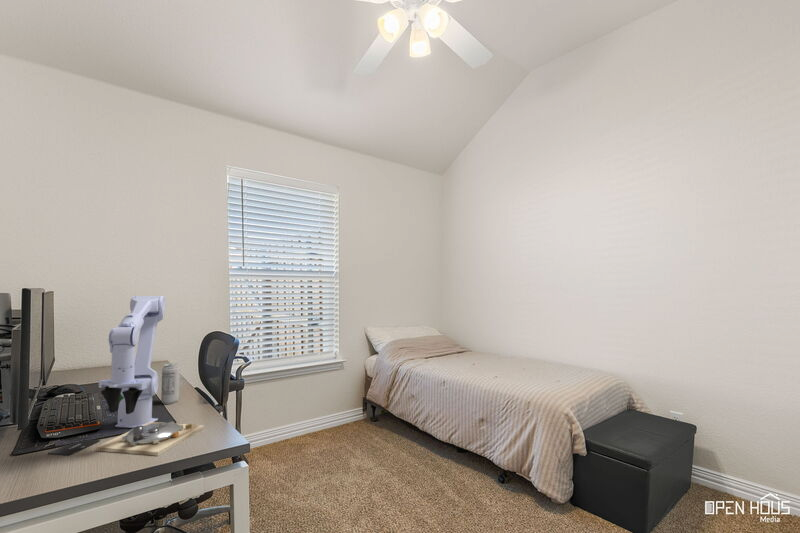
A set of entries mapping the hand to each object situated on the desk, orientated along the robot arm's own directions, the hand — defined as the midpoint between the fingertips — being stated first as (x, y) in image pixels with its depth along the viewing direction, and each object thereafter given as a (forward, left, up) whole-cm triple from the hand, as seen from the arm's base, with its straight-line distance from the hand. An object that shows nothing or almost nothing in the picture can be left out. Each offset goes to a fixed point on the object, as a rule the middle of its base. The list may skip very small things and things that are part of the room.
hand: (122, 412), depth 117 cm
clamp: (-21, +29, -10) cm, 37 cm away
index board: (+7, +5, -9) cm, 12 cm away
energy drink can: (-13, +37, -10) cm, 41 cm away
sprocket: (+7, +5, -8) cm, 12 cm away
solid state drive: (-11, -4, -10) cm, 16 cm away
